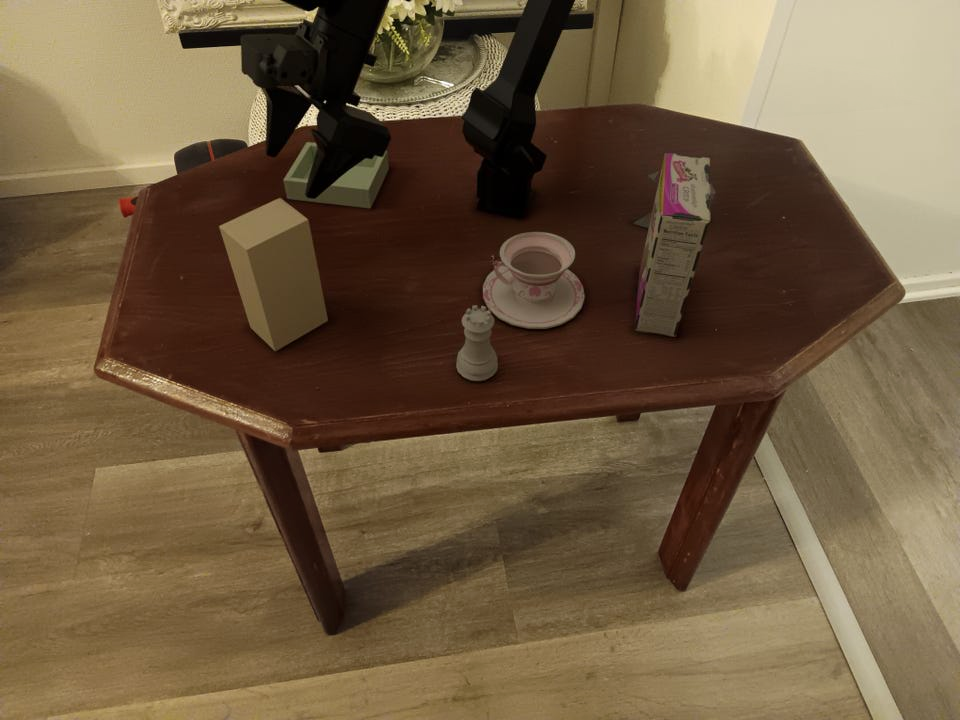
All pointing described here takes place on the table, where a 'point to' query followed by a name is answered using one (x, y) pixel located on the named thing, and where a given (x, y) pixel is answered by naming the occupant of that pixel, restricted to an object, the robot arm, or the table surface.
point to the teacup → (534, 282)
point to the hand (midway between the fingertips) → (289, 176)
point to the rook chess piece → (477, 346)
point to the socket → (348, 189)
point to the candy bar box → (673, 243)
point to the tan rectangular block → (276, 272)
